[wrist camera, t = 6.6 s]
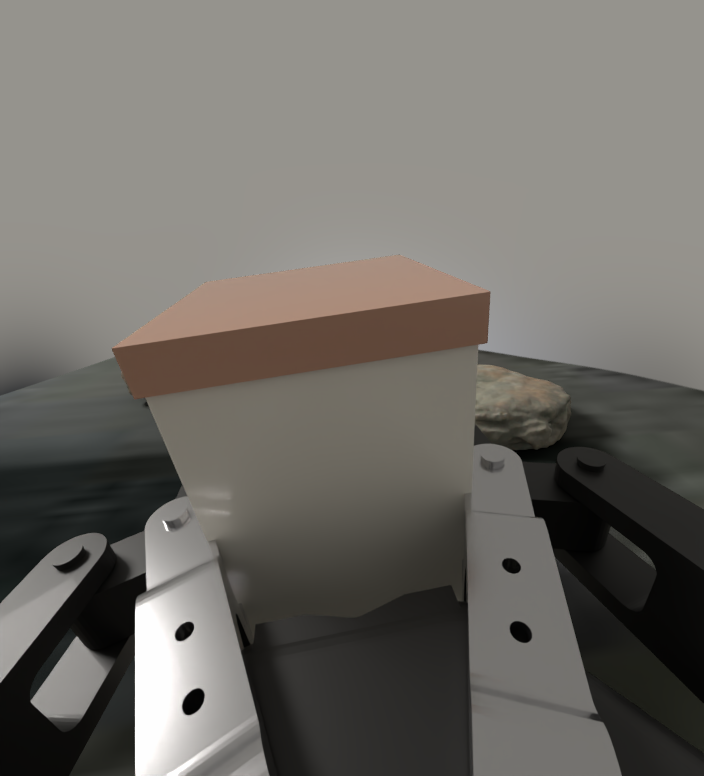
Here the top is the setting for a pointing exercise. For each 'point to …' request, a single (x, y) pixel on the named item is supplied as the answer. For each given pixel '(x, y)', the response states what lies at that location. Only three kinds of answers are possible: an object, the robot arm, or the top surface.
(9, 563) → the top surface
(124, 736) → the top surface
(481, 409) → the long grey stone
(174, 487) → the top surface
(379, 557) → the canister
